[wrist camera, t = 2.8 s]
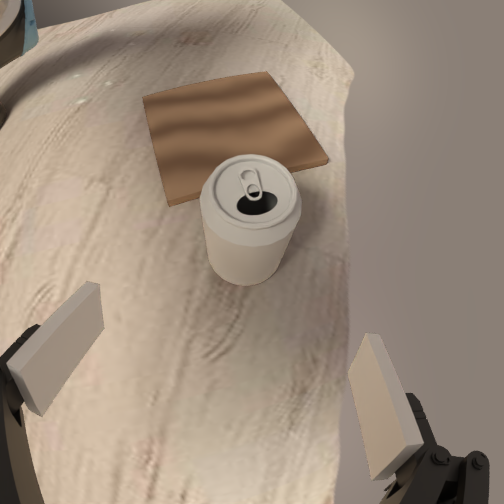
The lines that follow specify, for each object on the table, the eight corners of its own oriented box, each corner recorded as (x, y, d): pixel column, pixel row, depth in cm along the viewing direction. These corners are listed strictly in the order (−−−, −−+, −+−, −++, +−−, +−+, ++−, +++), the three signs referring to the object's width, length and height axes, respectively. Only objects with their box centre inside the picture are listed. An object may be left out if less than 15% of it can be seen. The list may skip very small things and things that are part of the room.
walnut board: (143, 102, 39) (142, 96, 38) (266, 77, 43) (266, 71, 42) (169, 206, 33) (167, 201, 32) (326, 164, 37) (328, 158, 36)
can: (220, 298, 29) (215, 250, 18) (199, 232, 32) (186, 158, 21) (291, 275, 31) (325, 218, 20) (265, 213, 33) (282, 137, 22)
